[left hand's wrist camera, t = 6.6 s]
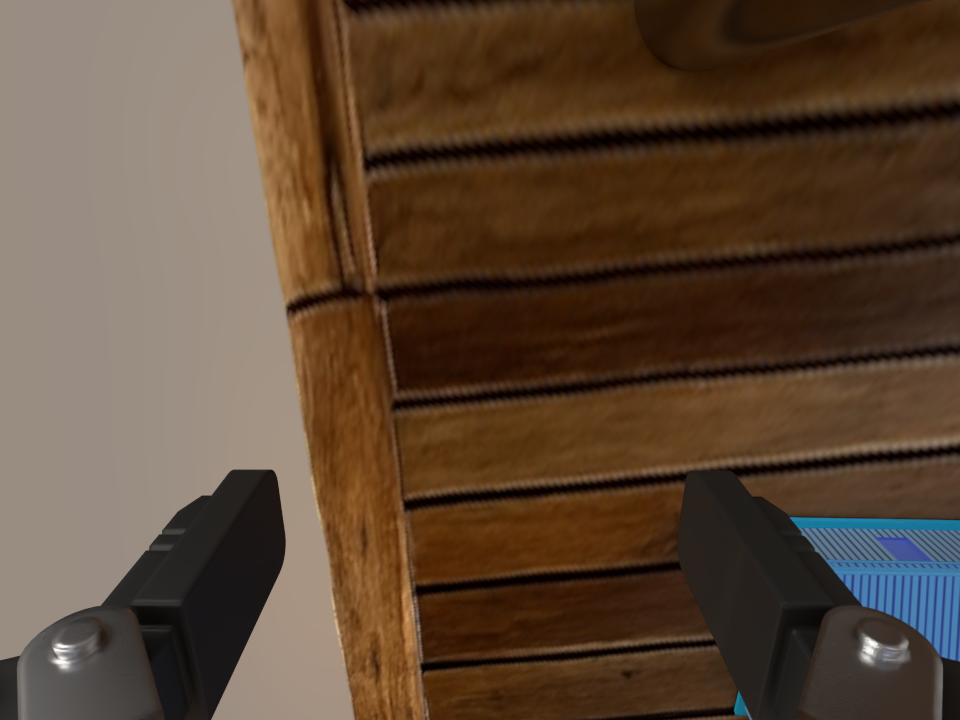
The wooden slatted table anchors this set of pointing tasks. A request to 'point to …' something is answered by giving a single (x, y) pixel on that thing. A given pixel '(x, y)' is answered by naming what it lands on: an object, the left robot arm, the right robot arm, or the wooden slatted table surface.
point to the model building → (895, 572)
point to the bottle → (744, 26)
